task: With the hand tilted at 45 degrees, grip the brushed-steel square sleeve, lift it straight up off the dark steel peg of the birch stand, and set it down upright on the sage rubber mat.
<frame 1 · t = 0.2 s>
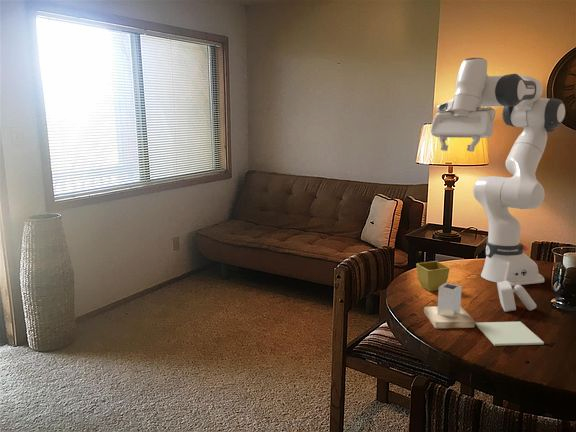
hand: (456, 150, 162), 52 cm above the table, tool tilted 20°, fingers open, 8 cm apart
flower pot: (431, 289, 187), on the table
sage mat: (508, 333, 151), on the table
peg stand: (448, 319, 161), on the table
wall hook: (516, 309, 168), on the table
steel sleeve: (448, 313, 160), point 2 cm above the table, touching peg stand
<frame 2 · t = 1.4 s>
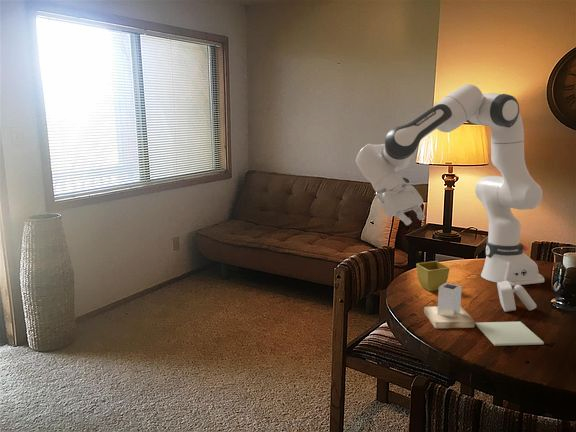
hand: (416, 221, 162), 30 cm above the table, tool tilted 45°, fingers open, 8 cm apart
nothing on the table moved.
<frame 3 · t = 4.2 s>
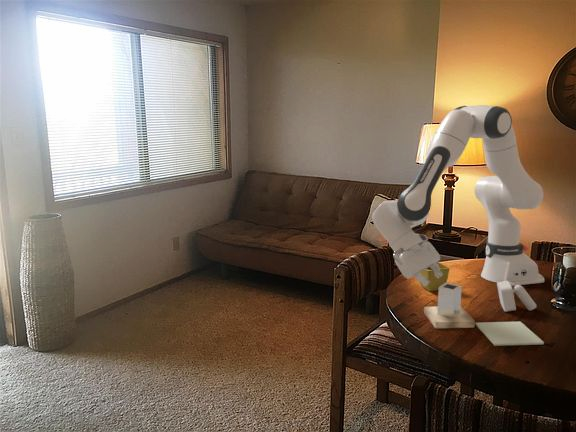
hand: (434, 280, 162), 12 cm above the table, tool tilted 45°, fingers open, 8 cm apart
nothing on the table moved.
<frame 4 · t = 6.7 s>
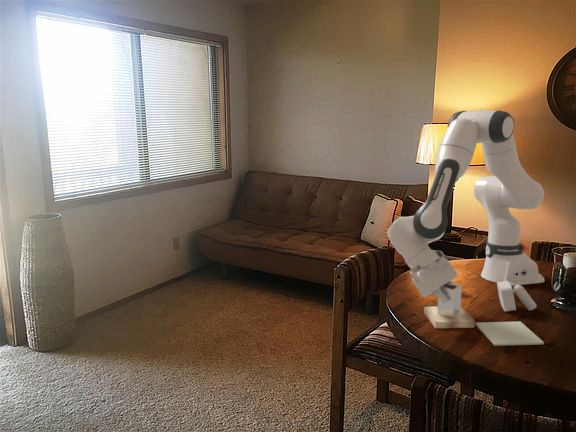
hand: (451, 298, 159), 7 cm above the table, tool tilted 45°, fingers closed on steel sleeve, 5 cm apart
steel sleeve: (448, 313, 160), point 2 cm above the table, touching gripper, peg stand
everything else where it was.
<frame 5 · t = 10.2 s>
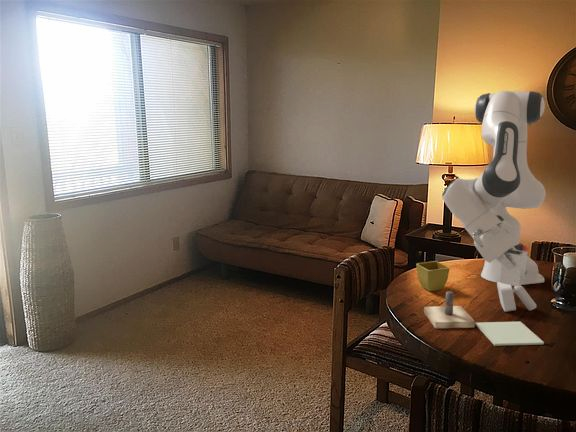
hand: (516, 265, 146), 21 cm above the table, tool tilted 45°, fingers closed on steel sleeve, 5 cm apart
steel sleeve: (512, 282, 147), point 16 cm above the table, touching gripper
everything else where it was.
when the fingers open (7 cm above the table, at t = 13.6 s): steel sleeve drops 2 cm, resting on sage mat.
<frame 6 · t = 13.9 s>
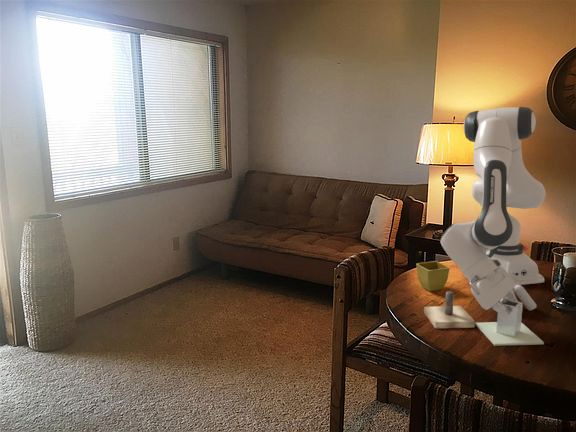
hand: (512, 311, 149), 7 cm above the table, tool tilted 45°, fingers open, 8 cm apart
steel sleeve: (508, 331, 150), point 1 cm above the table, touching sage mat
everything else where it was.
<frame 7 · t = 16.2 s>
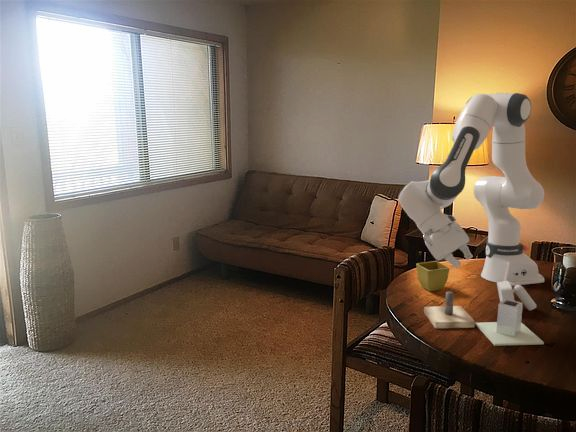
hand: (464, 262, 156), 19 cm above the table, tool tilted 45°, fingers open, 8 cm apart
nothing on the table moved.
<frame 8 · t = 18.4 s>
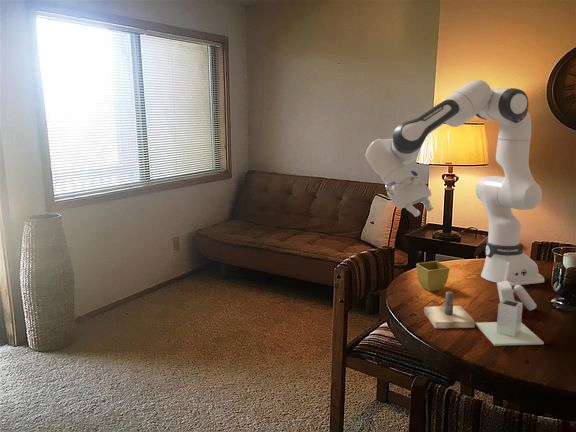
hand: (424, 212, 168), 31 cm above the table, tool tilted 45°, fingers open, 8 cm apart
nothing on the table moved.
at the end: steel sleeve inside the target area on the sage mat (0.1 cm from its centre), point 0.6 cm above the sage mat's base; steel sleeve tilted 0°; the gripper is holding nothing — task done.
